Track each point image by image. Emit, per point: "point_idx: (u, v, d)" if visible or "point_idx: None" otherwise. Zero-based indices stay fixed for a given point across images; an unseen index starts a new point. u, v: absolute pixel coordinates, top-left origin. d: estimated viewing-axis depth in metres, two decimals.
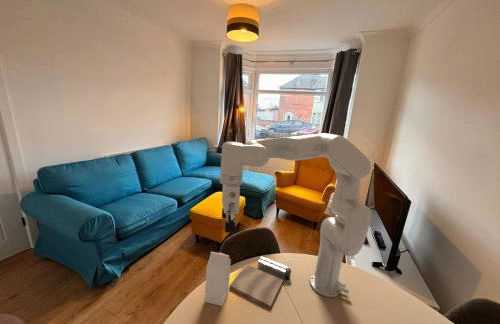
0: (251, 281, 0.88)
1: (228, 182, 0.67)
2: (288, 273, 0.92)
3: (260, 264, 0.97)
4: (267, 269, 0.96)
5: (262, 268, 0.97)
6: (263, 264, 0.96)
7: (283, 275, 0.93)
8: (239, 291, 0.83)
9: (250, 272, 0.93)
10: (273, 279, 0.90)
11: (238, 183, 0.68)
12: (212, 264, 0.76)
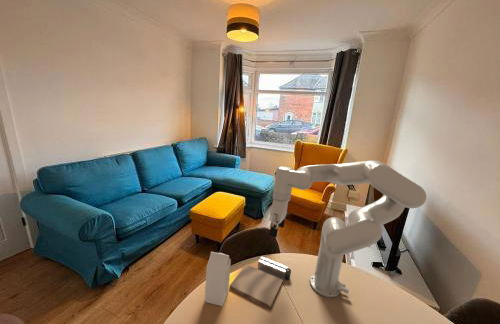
0: (251, 281, 0.88)
1: None
2: (288, 273, 0.92)
3: (260, 264, 0.97)
4: (267, 269, 0.96)
5: (262, 268, 0.97)
6: (263, 264, 0.96)
7: (283, 275, 0.93)
8: (239, 291, 0.83)
9: (250, 272, 0.93)
10: (273, 279, 0.90)
11: None
12: (212, 264, 0.76)
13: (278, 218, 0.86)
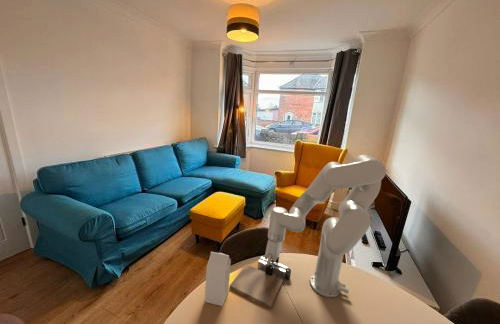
0: (251, 281, 0.88)
1: None
2: (288, 273, 0.92)
3: (260, 264, 0.97)
4: None
5: (262, 268, 0.97)
6: (263, 264, 0.96)
7: (283, 275, 0.93)
8: (239, 291, 0.83)
9: (250, 272, 0.93)
10: (273, 279, 0.90)
11: None
12: (212, 264, 0.76)
13: (273, 259, 0.90)
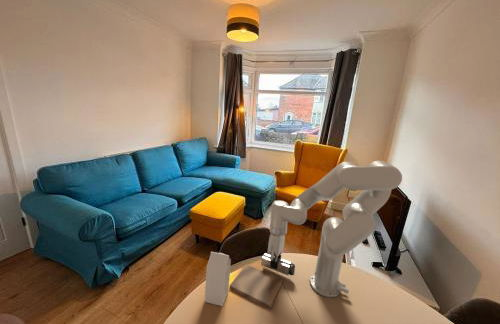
0: (251, 281, 0.88)
1: None
2: (292, 268, 0.91)
3: (263, 261, 0.96)
4: None
5: (266, 265, 0.96)
6: (266, 260, 0.96)
7: (287, 270, 0.92)
8: (239, 291, 0.83)
9: (250, 272, 0.93)
10: (273, 279, 0.90)
11: None
12: (212, 264, 0.76)
13: (276, 254, 0.90)
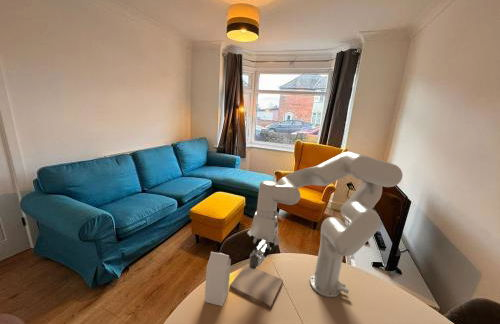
0: (251, 281, 0.88)
1: (273, 216, 0.79)
2: (250, 258, 0.79)
3: None
4: None
5: None
6: None
7: None
8: (239, 291, 0.83)
9: (250, 272, 0.93)
10: (273, 279, 0.90)
11: None
12: (212, 264, 0.76)
13: None
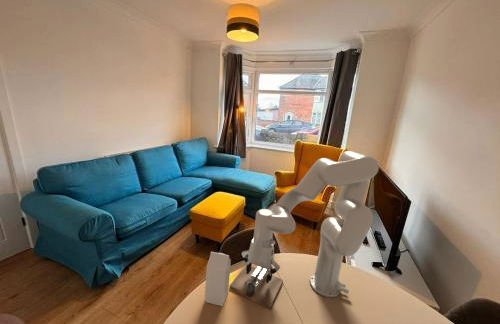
0: None
1: (269, 244, 0.82)
2: (247, 286, 0.81)
3: None
4: None
5: None
6: None
7: None
8: (239, 291, 0.83)
9: (250, 272, 0.93)
10: (273, 279, 0.90)
11: None
12: (212, 264, 0.76)
13: None
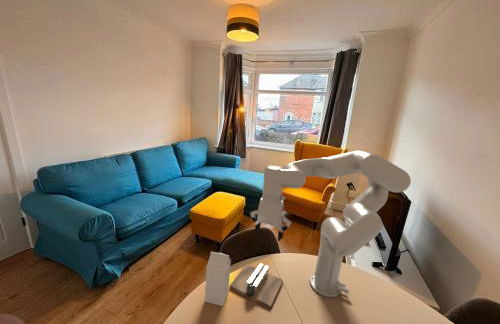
0: None
1: (279, 200, 0.80)
2: (247, 286, 0.81)
3: None
4: None
5: None
6: None
7: None
8: (239, 291, 0.83)
9: (250, 272, 0.93)
10: (273, 279, 0.90)
11: None
12: (212, 264, 0.76)
13: None
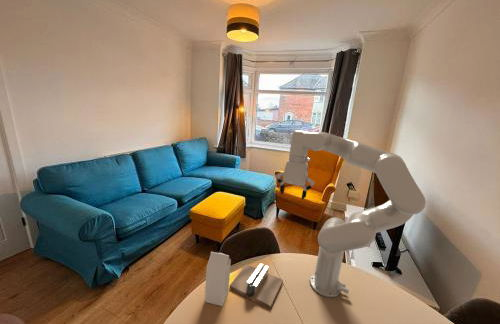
0: None
1: (304, 161, 0.88)
2: (247, 286, 0.81)
3: None
4: None
5: None
6: None
7: None
8: (239, 291, 0.83)
9: (250, 272, 0.93)
10: (273, 279, 0.90)
11: None
12: (212, 264, 0.76)
13: (283, 175, 0.93)
